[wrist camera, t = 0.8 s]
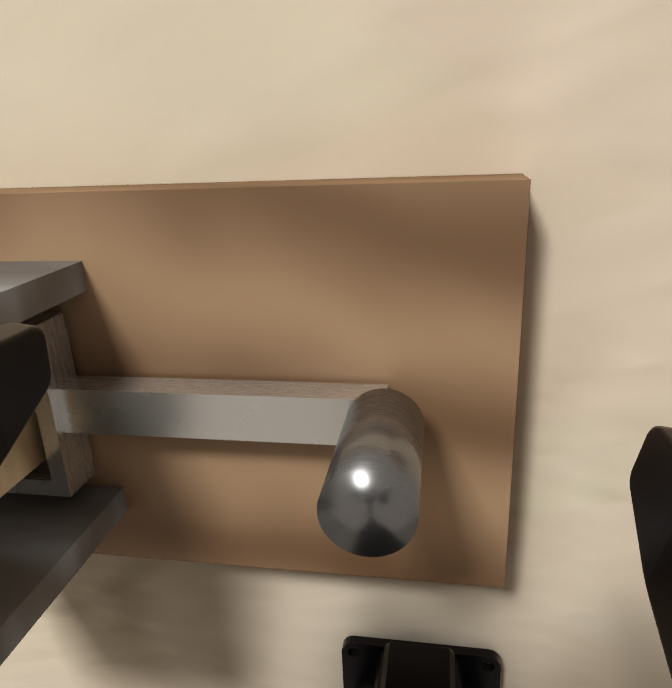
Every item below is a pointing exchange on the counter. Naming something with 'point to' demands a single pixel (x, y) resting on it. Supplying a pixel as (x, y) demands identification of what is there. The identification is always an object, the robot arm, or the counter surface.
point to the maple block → (22, 456)
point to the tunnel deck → (272, 363)
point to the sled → (245, 436)
